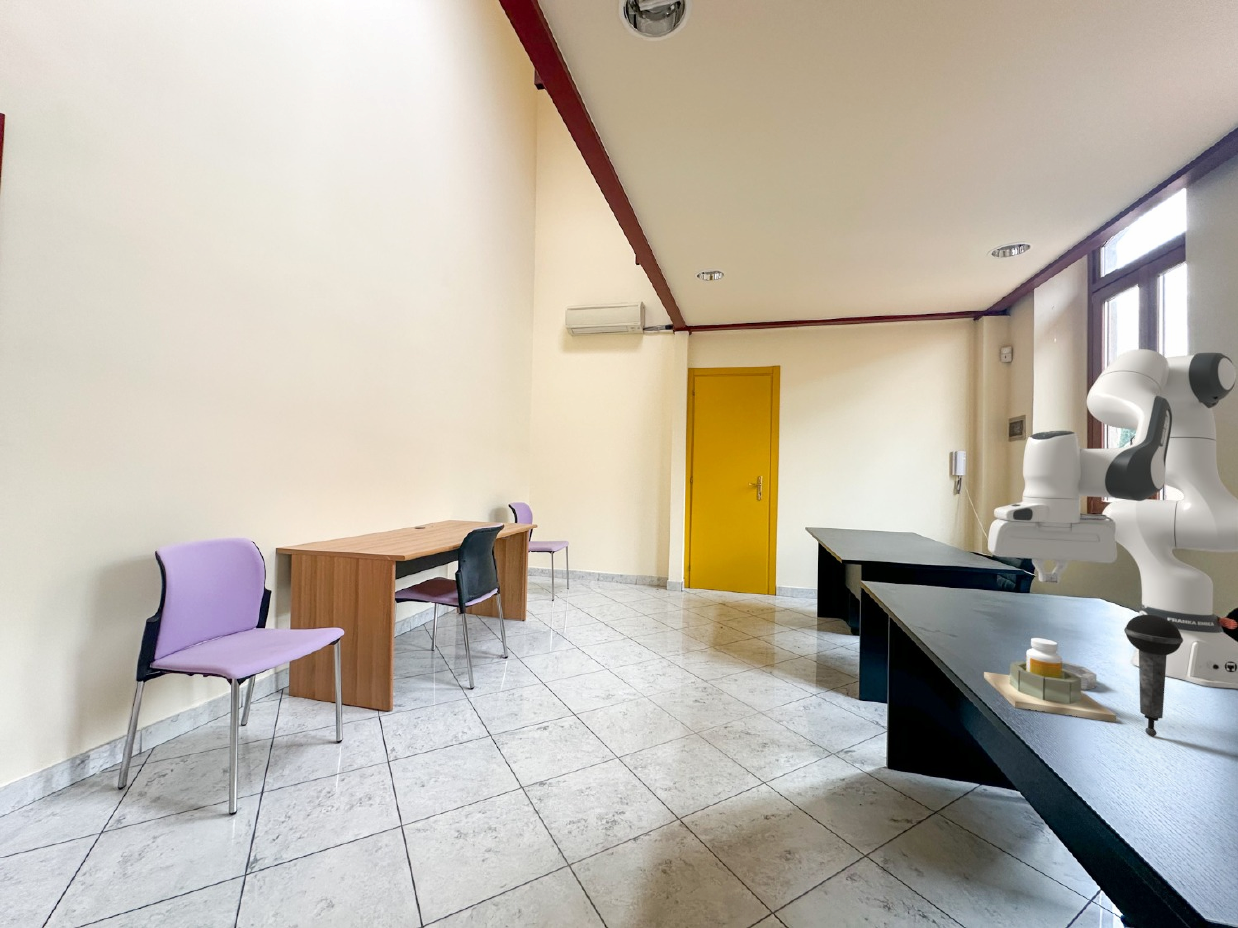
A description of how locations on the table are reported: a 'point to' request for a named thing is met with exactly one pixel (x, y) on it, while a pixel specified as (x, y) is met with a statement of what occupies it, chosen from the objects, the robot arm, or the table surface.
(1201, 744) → the table surface
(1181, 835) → the table surface
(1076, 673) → the holder ring
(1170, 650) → the microphone
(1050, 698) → the socket board
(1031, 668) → the supplement bottle
